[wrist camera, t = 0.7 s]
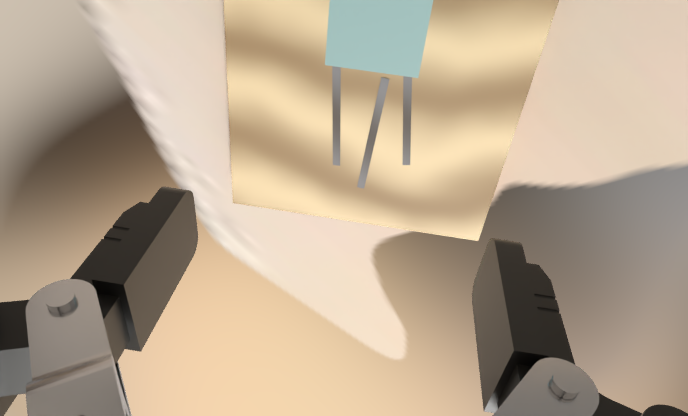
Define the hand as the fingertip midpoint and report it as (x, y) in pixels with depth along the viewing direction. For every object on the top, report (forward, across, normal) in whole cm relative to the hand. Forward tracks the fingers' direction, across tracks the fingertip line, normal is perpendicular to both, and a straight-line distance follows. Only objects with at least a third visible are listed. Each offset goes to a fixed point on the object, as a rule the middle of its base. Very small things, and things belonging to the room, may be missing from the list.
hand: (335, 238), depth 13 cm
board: (+20, 0, +3) cm, 20 cm away
